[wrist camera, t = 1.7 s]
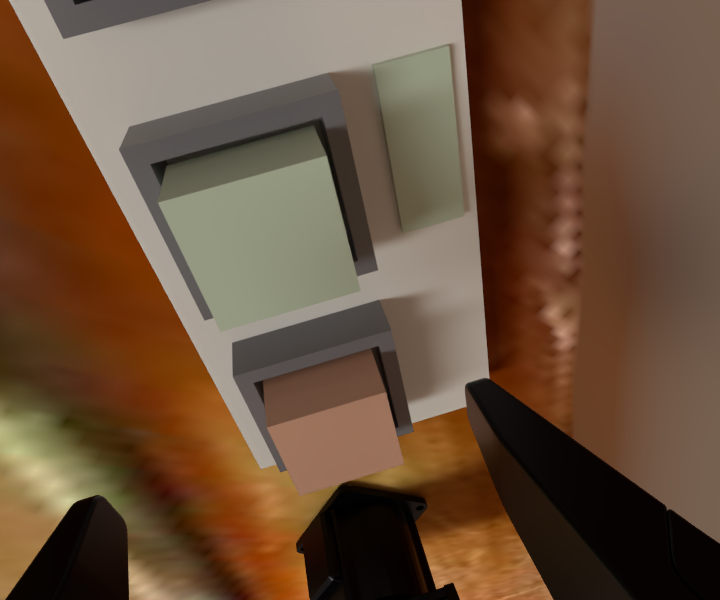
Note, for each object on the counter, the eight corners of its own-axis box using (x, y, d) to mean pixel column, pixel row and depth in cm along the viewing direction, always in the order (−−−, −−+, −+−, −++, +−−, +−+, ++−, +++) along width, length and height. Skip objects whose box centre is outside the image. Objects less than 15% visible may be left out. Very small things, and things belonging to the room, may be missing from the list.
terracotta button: (389, 418, 24) (403, 464, 22) (293, 447, 23) (299, 495, 21) (370, 346, 21) (385, 391, 19) (262, 378, 21) (266, 427, 19)
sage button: (345, 249, 18) (360, 290, 16) (220, 286, 18) (220, 331, 16) (313, 125, 15) (326, 155, 14) (166, 166, 15) (157, 203, 13)
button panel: (475, 372, 28) (507, 429, 25) (258, 437, 28) (263, 504, 25) (390, -524, 11) (454, -693, 8) (-168, -400, 11) (-329, -530, 8)
